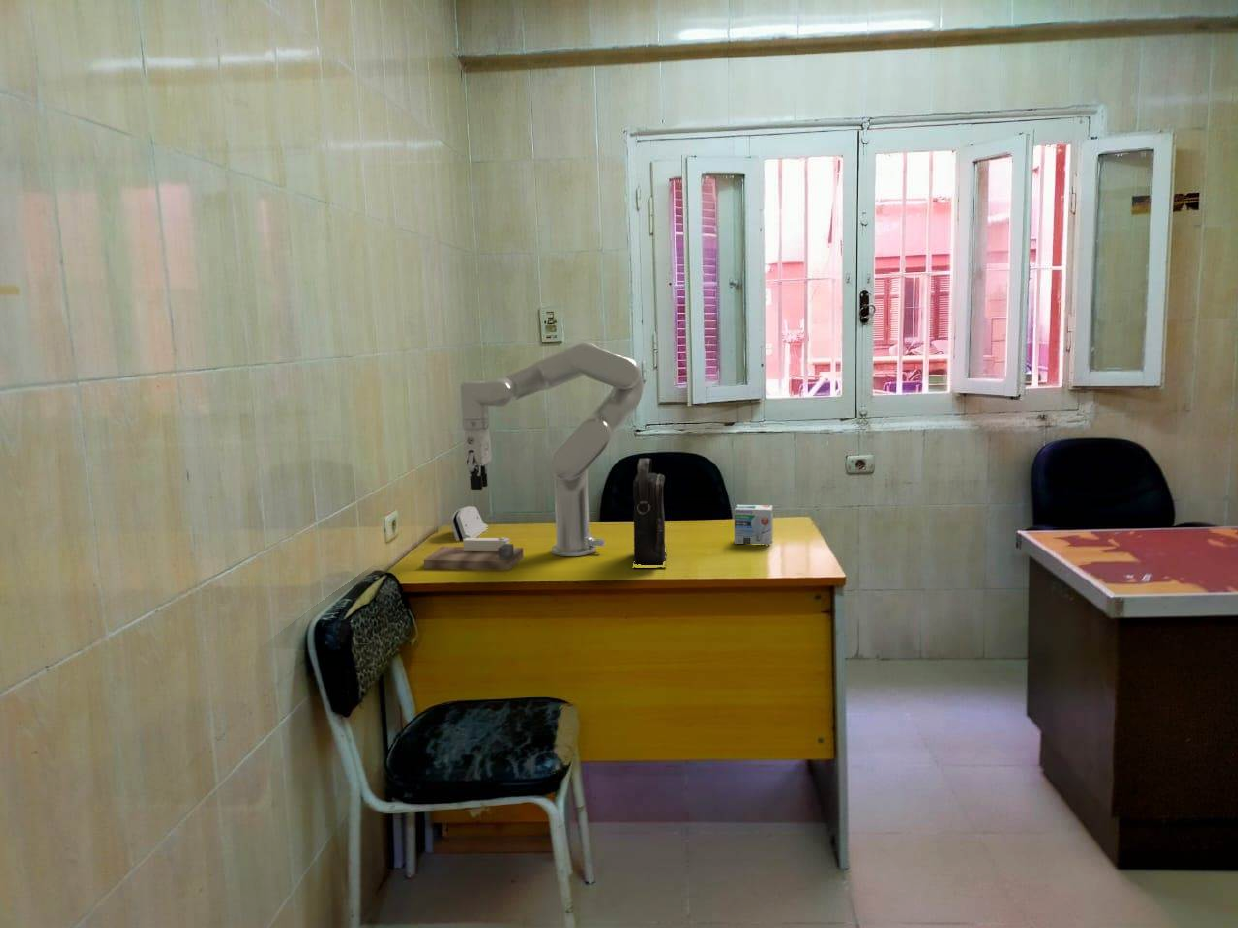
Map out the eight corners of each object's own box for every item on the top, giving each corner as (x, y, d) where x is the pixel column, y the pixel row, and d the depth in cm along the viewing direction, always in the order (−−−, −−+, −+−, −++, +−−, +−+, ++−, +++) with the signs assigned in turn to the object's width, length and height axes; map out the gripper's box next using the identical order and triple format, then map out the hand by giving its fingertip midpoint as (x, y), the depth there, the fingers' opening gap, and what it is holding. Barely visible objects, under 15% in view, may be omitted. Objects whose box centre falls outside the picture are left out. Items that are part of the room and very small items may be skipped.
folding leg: (509, 548, 246) (508, 536, 246) (506, 551, 243) (505, 539, 243) (467, 547, 248) (466, 536, 248) (463, 550, 246) (462, 538, 245)
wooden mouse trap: (523, 556, 248) (522, 537, 247) (508, 570, 234) (507, 550, 233) (442, 555, 252) (441, 536, 251) (424, 568, 238) (422, 549, 237)
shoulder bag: (635, 548, 254) (632, 452, 249) (666, 547, 253) (665, 452, 249) (631, 569, 231) (628, 465, 227) (665, 569, 231) (663, 464, 226)
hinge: (471, 541, 267) (459, 511, 266) (458, 546, 268) (445, 516, 268) (489, 529, 284) (477, 500, 283) (476, 533, 285) (465, 505, 284)
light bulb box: (734, 545, 254) (733, 508, 252) (736, 539, 260) (736, 504, 259) (771, 546, 251) (771, 509, 250) (773, 540, 258) (773, 504, 256)
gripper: (478, 428, 238) (482, 494, 241) (497, 421, 254) (500, 483, 257) (452, 428, 240) (456, 493, 242) (473, 421, 256) (476, 483, 259)
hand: (479, 487), depth 250 cm, fingers open, 3 cm apart
